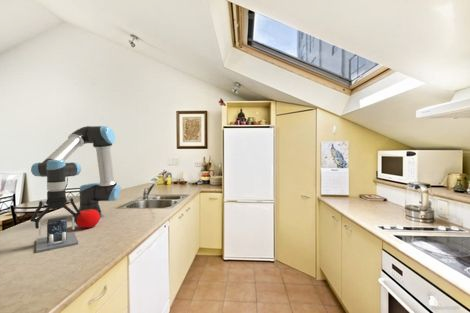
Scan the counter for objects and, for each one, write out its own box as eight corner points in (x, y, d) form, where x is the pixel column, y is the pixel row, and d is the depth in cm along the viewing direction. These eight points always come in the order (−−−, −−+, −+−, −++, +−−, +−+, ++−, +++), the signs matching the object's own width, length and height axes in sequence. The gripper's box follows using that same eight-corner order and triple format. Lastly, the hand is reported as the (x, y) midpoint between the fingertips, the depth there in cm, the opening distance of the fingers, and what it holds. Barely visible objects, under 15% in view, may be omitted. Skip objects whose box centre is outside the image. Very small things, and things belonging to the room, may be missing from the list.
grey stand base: (73, 233, 132) (73, 223, 132) (78, 244, 117) (78, 232, 117) (36, 240, 122) (36, 228, 122) (36, 252, 107) (36, 239, 106)
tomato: (104, 224, 148) (104, 207, 148) (85, 231, 136) (84, 212, 136) (90, 223, 152) (90, 206, 152) (70, 229, 140) (70, 210, 140)
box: (47, 243, 115) (46, 221, 115) (48, 239, 120) (47, 219, 119) (66, 240, 119) (66, 219, 119) (66, 236, 124) (66, 216, 124)
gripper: (84, 186, 130) (84, 225, 130) (23, 191, 114) (24, 235, 114) (86, 188, 124) (86, 228, 124) (23, 193, 108) (23, 239, 109)
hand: (57, 231), depth 119 cm, fingers open, 13 cm apart
